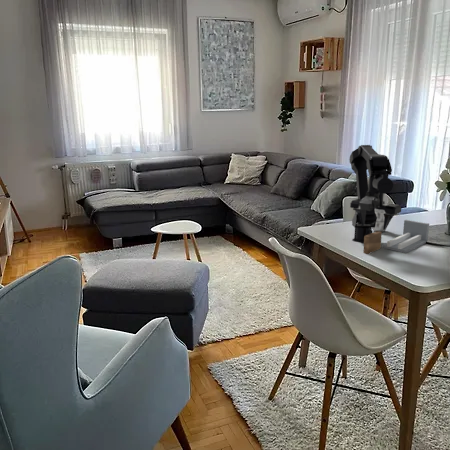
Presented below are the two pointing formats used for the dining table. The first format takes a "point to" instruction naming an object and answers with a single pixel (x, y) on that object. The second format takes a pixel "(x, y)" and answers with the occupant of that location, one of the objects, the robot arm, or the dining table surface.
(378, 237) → the door panel
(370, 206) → the robot arm
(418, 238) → the track board
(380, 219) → the plastic bottle
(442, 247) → the dining table surface
